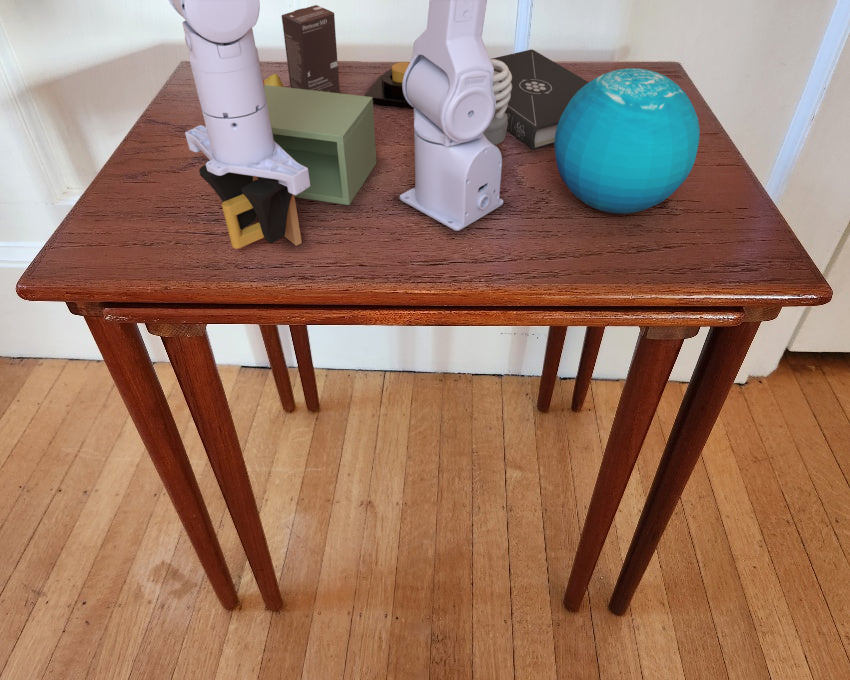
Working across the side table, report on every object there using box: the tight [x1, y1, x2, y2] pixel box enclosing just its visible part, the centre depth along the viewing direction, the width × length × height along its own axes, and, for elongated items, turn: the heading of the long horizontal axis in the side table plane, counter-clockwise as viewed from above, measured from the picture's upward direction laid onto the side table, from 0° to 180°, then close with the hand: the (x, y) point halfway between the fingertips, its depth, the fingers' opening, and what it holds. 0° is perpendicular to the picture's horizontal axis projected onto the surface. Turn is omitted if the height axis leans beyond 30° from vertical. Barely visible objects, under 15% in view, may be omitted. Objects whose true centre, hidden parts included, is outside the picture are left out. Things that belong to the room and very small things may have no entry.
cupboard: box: [264, 85, 378, 206], centre depth 80 cm, size 10×15×9 cm
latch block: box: [364, 68, 414, 110], centre depth 99 cm, size 10×8×3 cm
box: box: [281, 4, 341, 94], centre depth 95 cm, size 6×4×12 cm
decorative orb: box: [553, 67, 701, 215], centre depth 73 cm, size 15×15×15 cm
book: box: [491, 49, 590, 150], centre depth 96 cm, size 22×15×3 cm
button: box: [391, 61, 410, 83], centre depth 97 cm, size 4×4×2 cm
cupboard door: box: [221, 176, 303, 250], centre depth 73 cm, size 7×15×8 cm, turn 41°
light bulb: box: [483, 58, 512, 146], centre depth 83 cm, size 6×6×12 cm
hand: (261, 231), depth 70 cm, fingers open, 4 cm apart
